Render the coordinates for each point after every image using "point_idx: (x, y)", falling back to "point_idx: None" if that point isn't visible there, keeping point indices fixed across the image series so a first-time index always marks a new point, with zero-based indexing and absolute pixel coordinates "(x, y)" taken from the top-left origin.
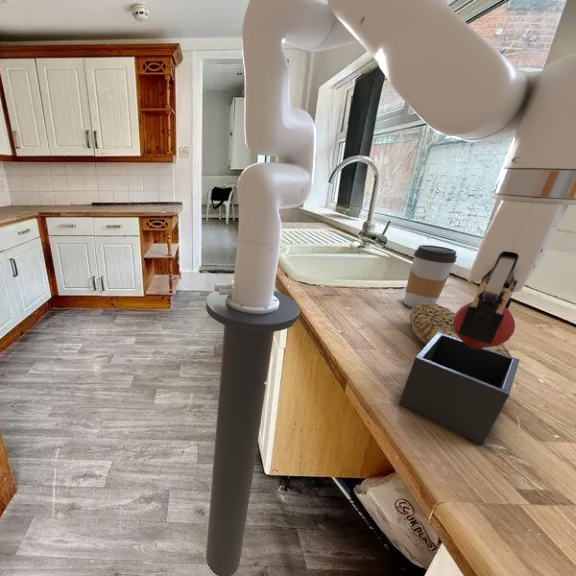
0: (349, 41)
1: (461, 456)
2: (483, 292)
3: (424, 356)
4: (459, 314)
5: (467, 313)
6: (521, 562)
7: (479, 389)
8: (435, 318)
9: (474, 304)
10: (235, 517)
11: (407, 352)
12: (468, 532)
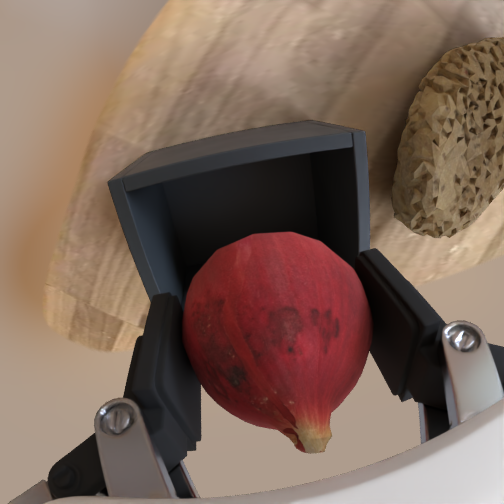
0: None
1: (128, 266)
2: (55, 496)
3: (145, 186)
4: (216, 290)
5: (138, 361)
6: (68, 335)
7: None
8: (491, 88)
9: (101, 423)
10: None
11: (375, 65)
12: (47, 308)
